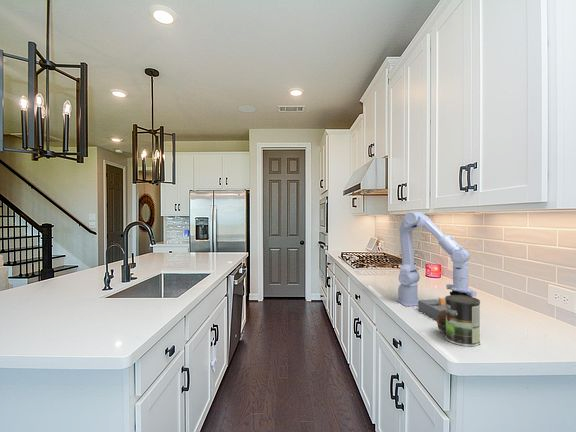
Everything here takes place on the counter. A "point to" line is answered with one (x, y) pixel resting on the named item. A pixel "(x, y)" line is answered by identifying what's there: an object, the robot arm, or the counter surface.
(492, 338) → the counter surface
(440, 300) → the orange rectangular block
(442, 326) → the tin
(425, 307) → the dispenser
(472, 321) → the coffee can
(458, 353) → the counter surface
